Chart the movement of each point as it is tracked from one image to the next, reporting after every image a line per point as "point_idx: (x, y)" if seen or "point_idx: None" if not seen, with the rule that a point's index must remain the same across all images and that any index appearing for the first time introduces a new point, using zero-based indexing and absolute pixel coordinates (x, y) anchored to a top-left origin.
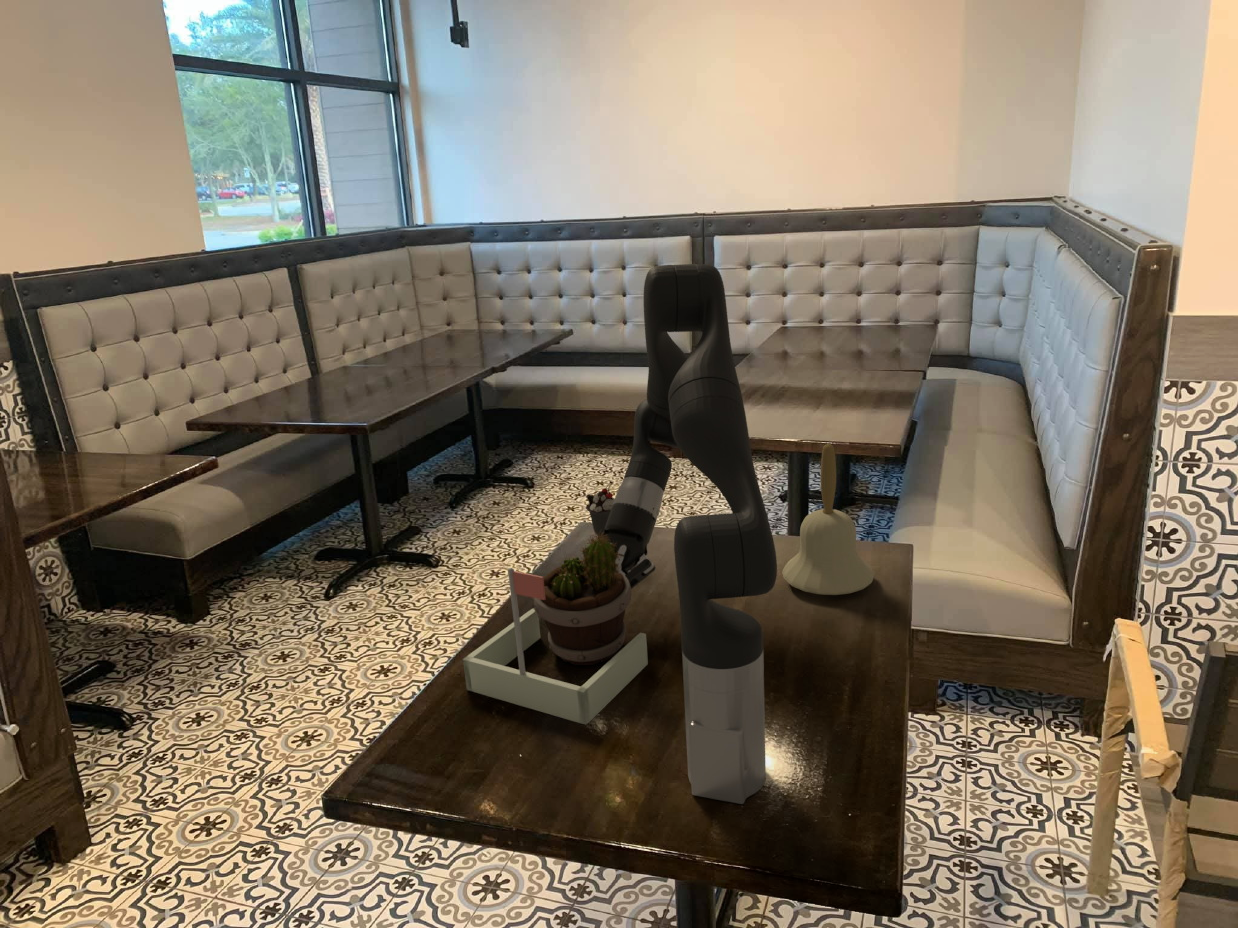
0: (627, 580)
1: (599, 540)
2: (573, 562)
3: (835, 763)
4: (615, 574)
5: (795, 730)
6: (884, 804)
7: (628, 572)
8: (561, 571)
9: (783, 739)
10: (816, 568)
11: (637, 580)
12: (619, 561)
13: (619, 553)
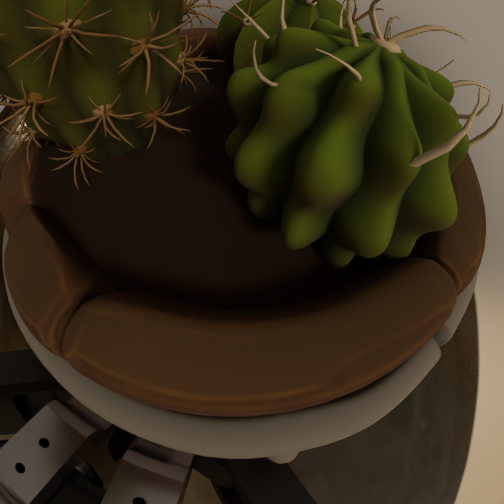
0: (5, 231)
1: None
2: (335, 29)
3: (4, 125)
4: (24, 164)
5: (3, 147)
6: (6, 107)
7: (12, 385)
8: (352, 17)
9: (15, 134)
10: None
11: (22, 394)
12: (23, 456)
13: (2, 499)
